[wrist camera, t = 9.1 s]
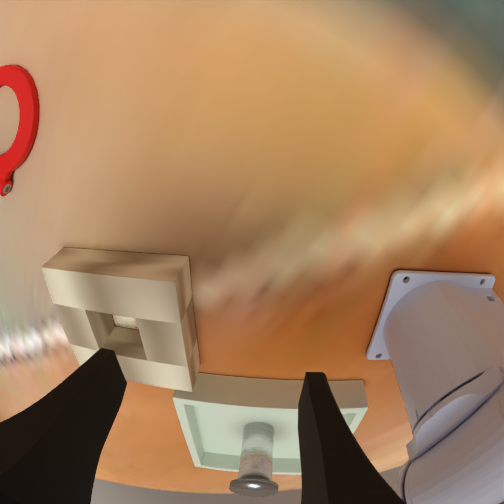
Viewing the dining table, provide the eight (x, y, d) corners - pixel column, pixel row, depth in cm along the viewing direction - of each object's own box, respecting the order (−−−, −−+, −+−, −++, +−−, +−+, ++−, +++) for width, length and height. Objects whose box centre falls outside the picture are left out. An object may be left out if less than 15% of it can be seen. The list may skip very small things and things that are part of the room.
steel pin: (270, 415, 25) (266, 482, 19) (286, 434, 26) (285, 494, 20) (230, 422, 26) (220, 485, 20) (249, 440, 28) (243, 497, 21)
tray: (362, 379, 23) (368, 407, 21) (325, 453, 31) (327, 473, 28) (180, 370, 24) (172, 397, 22) (199, 446, 31) (195, 466, 29)
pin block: (188, 256, 19) (174, 282, 16) (200, 363, 24) (192, 392, 21) (64, 247, 19) (41, 267, 17) (95, 345, 24) (81, 368, 21)
